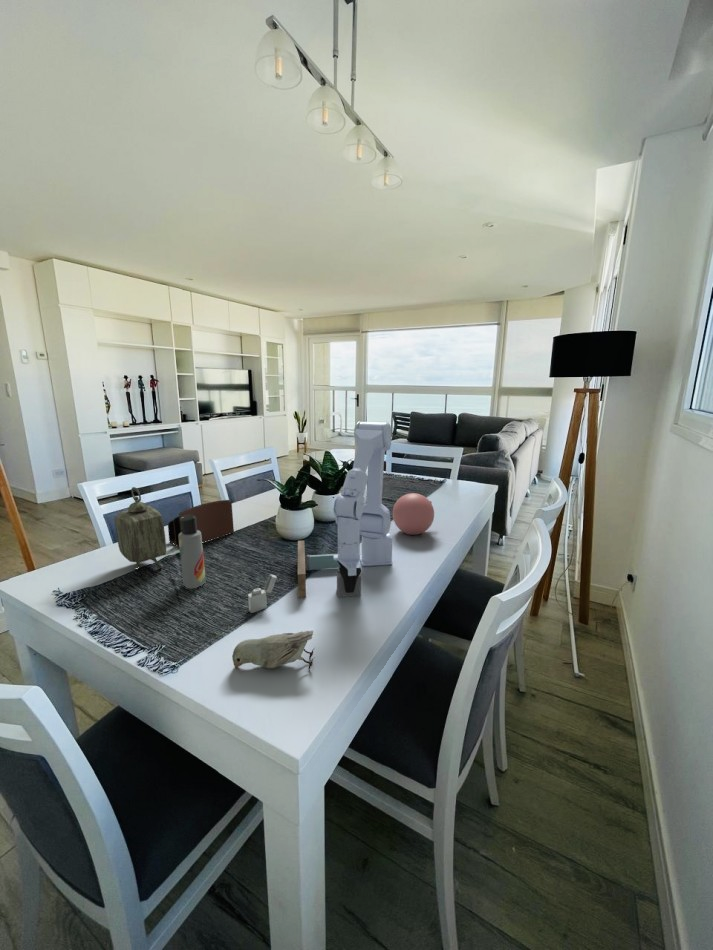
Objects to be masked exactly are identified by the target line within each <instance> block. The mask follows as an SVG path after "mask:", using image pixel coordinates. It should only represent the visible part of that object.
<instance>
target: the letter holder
mask: <svg viewBox="0 0 713 950" xmlns="http://www.w3.org/2000/svg"><path fill="white" fill-rule="evenodd" d="M186 515H194V517H196V523H197V530H199V531H200V532H201V536H202V542H205V541H208V540H211V539H214V538H217V537H220V536H223V535H226V534H229V533H233V532H234V533H235V529H234V528H235V527H234V517H233V504H232V501H231V500H230V499H224V500H223V499H222V500H217V501H209V502H206V503H203V504H202V503H201V504H198V505H196V506H193V507H190V508H188V509H185V510H182V511H180V513H179V514H178V515H177V516H176V517H175V518H173V519H172V520H171V521H169V522H168V523H167V530H168V542H169V541H170V542H172V543H174V544H175V545H177V546H179V537H178V536H179V534H180V533H181V532H182V530H181V520H180V519H181V517H183V516H186ZM234 533H233V534H234ZM170 542H169V543H170ZM175 545H174V546H175ZM177 546H176V547H177Z"/></svg>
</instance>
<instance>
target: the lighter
mask: <svg viewBox="0 0 713 950" xmlns="http://www.w3.org/2000/svg"><path fill="white" fill-rule="evenodd" d="M276 580H278V577H277V576H276V575H275V574H270V573H269V574H268V577H267V581H266V583H265V585H264V588H263V589H261V588H260V587H257V588H254V589H253V590H252V591H251V593H248V594H247V599H248V600H247V601H248V611H249V612H250V613H251V614H252V613H255V612H256V613H257V612H259V611H261V610H265V609H267V608H268V605H267V604H268V603H267V602H268V601H267V593H270V594H271V593H272V592H273V589H274V586H275V584H276V582H277V581H276Z"/></svg>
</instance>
